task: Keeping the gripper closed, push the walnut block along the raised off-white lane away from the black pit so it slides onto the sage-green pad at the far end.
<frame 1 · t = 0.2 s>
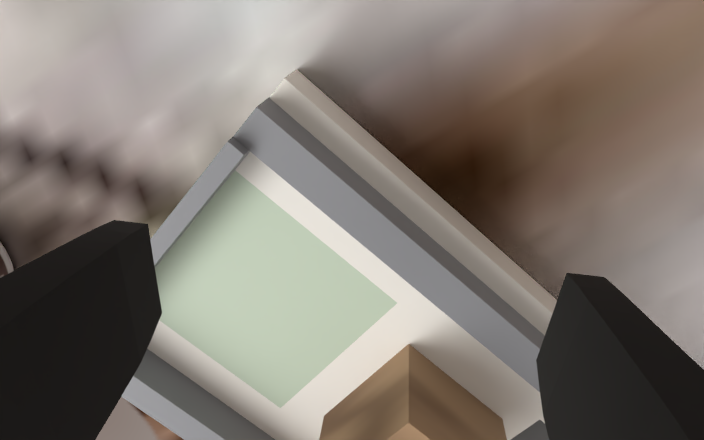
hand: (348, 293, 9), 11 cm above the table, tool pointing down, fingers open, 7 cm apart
deck: (411, 383, 23), on the table
block: (411, 417, 21), point 2 cm above the table, touching deck
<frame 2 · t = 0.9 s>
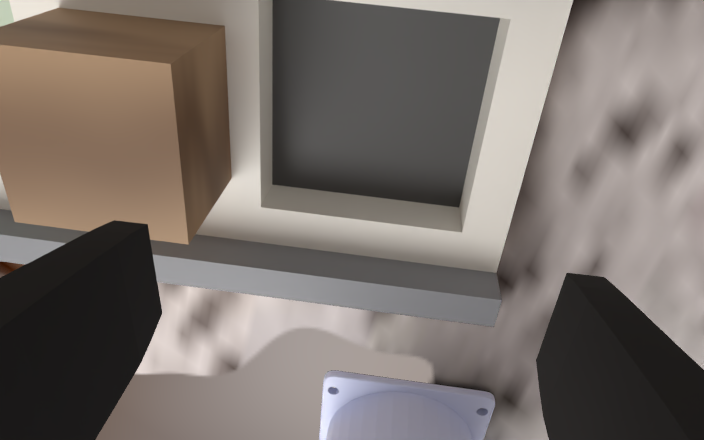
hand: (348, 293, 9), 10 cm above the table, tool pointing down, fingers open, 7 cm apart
deck: (175, 80, 19), on the table
block: (151, 99, 17), point 2 cm above the table, touching deck
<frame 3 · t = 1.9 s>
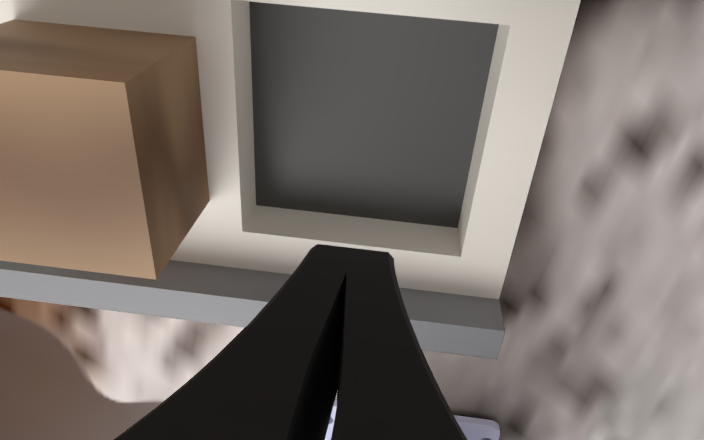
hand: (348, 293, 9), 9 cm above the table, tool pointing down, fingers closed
deck: (148, 94, 17), on the table
block: (119, 117, 16), point 2 cm above the table, touching deck
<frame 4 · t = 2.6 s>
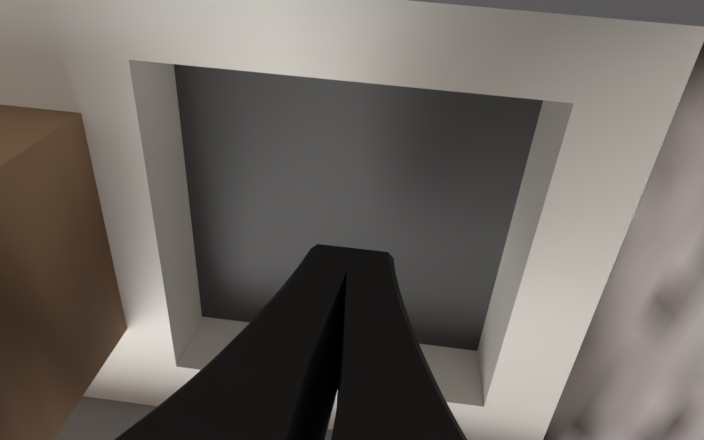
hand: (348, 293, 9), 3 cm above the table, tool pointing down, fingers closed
deck: (44, 174, 12), on the table
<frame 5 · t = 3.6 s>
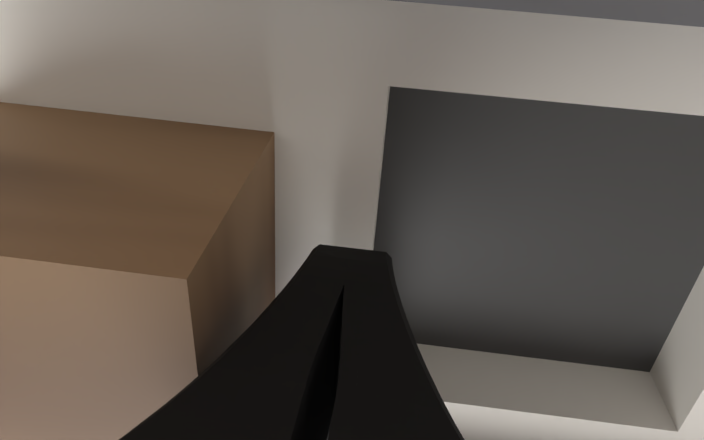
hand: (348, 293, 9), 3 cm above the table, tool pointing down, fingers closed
deck: (223, 195, 12), on the table
block: (148, 238, 10), point 2 cm above the table, touching gripper
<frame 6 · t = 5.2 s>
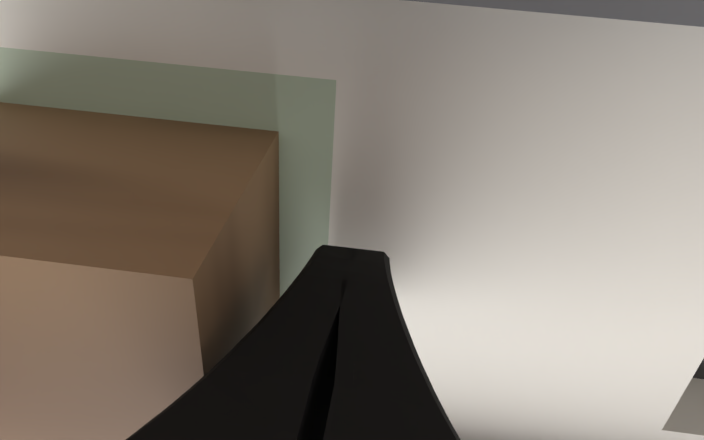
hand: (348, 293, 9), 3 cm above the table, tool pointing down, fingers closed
deck: (522, 228, 12), on the table
block: (152, 238, 10), point 2 cm above the table, touching deck, gripper
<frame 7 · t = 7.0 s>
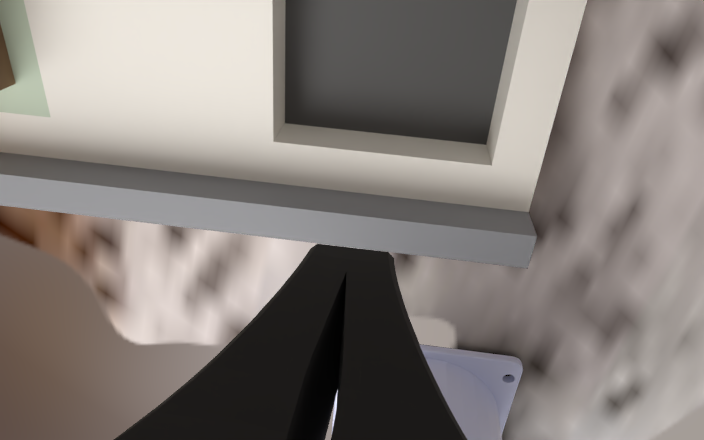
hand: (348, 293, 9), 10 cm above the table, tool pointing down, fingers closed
deck: (181, 6, 17), on the table
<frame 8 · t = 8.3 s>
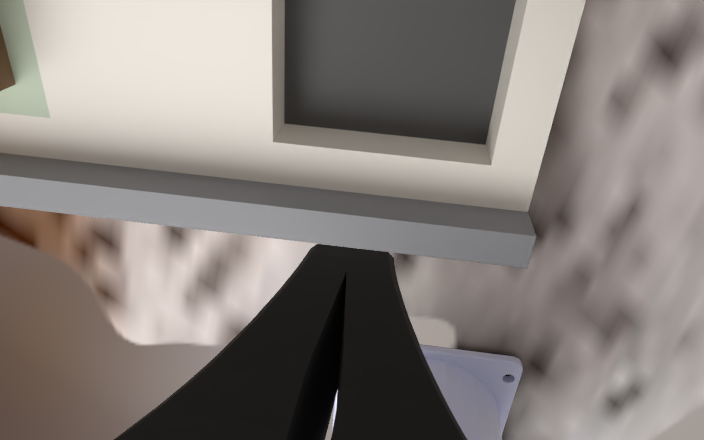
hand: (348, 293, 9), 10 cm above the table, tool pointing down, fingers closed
deck: (180, 7, 17), on the table
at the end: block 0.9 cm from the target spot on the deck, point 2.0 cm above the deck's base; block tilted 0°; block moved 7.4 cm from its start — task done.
